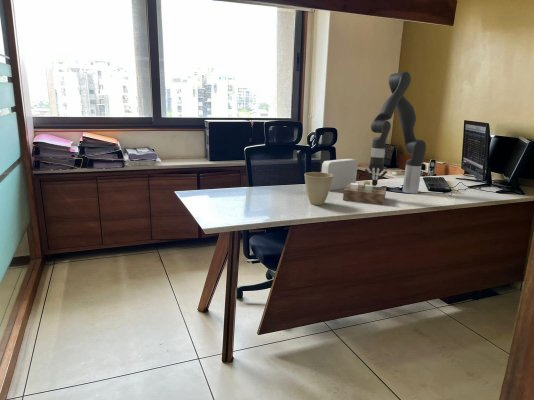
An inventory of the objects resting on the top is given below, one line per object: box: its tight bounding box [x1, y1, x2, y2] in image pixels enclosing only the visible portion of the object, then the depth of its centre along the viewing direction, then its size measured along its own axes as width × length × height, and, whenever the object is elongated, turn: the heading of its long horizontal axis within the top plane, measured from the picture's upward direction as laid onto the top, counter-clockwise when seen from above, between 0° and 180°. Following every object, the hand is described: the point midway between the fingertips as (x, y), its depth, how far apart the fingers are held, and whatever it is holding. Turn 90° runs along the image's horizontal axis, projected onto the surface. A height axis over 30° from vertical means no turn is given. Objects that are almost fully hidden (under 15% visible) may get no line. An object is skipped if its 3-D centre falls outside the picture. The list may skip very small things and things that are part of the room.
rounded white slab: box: [321, 158, 358, 192], centre depth 243 cm, size 29×8×18 cm, turn 129°
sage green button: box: [364, 184, 374, 192], centre depth 212 cm, size 4×4×5 cm
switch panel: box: [342, 184, 387, 206], centre depth 217 cm, size 22×18×6 cm
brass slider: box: [363, 180, 371, 187], centre depth 220 cm, size 3×3×4 cm
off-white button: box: [350, 182, 359, 190], centre depth 214 cm, size 4×4×5 cm
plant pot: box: [304, 171, 333, 206], centre depth 202 cm, size 15×15×16 cm
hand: (374, 185), depth 219 cm, fingers closed
